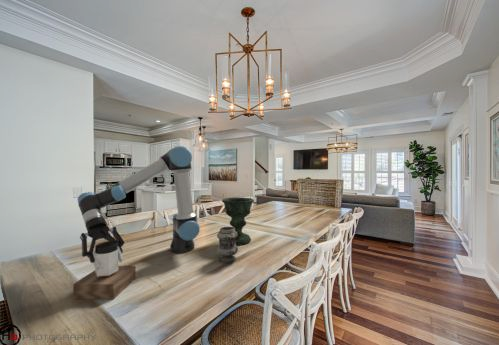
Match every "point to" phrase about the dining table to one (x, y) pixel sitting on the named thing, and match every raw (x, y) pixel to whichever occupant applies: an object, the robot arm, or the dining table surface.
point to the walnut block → (104, 284)
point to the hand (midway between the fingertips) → (110, 264)
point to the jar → (107, 258)
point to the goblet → (238, 216)
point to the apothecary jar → (227, 244)
